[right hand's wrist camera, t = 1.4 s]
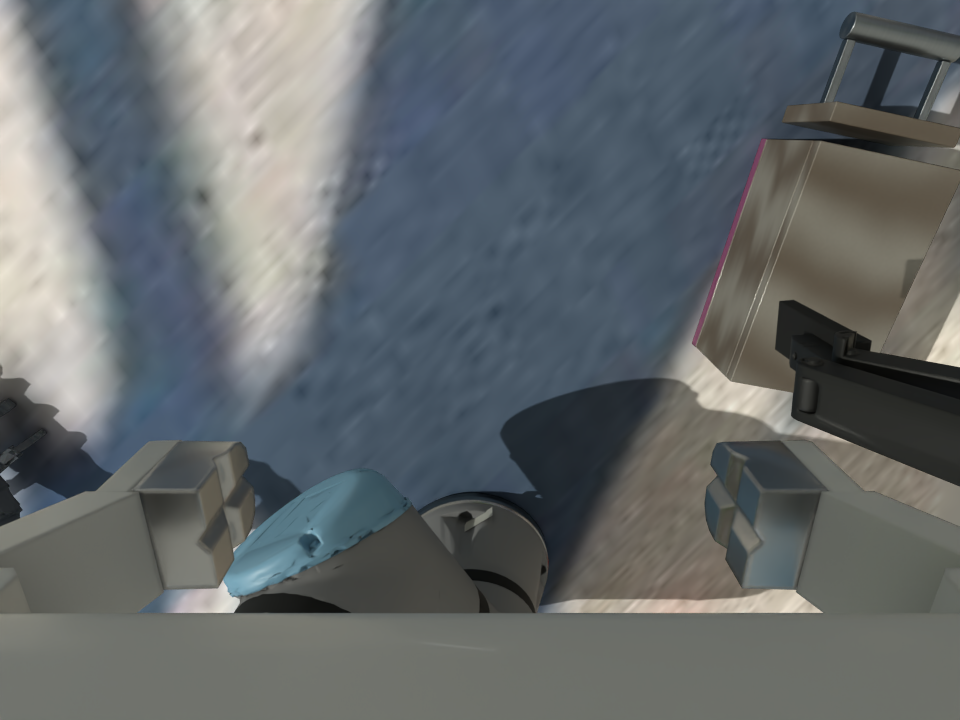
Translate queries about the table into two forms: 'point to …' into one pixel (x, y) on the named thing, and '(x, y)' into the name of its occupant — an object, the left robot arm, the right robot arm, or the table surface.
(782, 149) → the cabinet
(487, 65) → the table surface
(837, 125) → the drawer
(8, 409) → the toy
